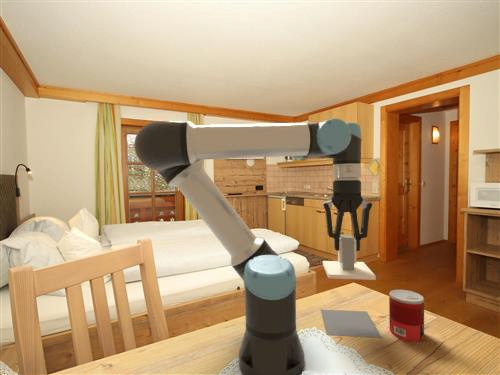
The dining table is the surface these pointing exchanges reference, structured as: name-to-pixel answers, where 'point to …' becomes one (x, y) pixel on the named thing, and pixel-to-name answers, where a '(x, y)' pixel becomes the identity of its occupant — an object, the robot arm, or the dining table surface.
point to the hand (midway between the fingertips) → (346, 261)
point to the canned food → (406, 315)
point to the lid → (348, 264)
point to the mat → (349, 323)
